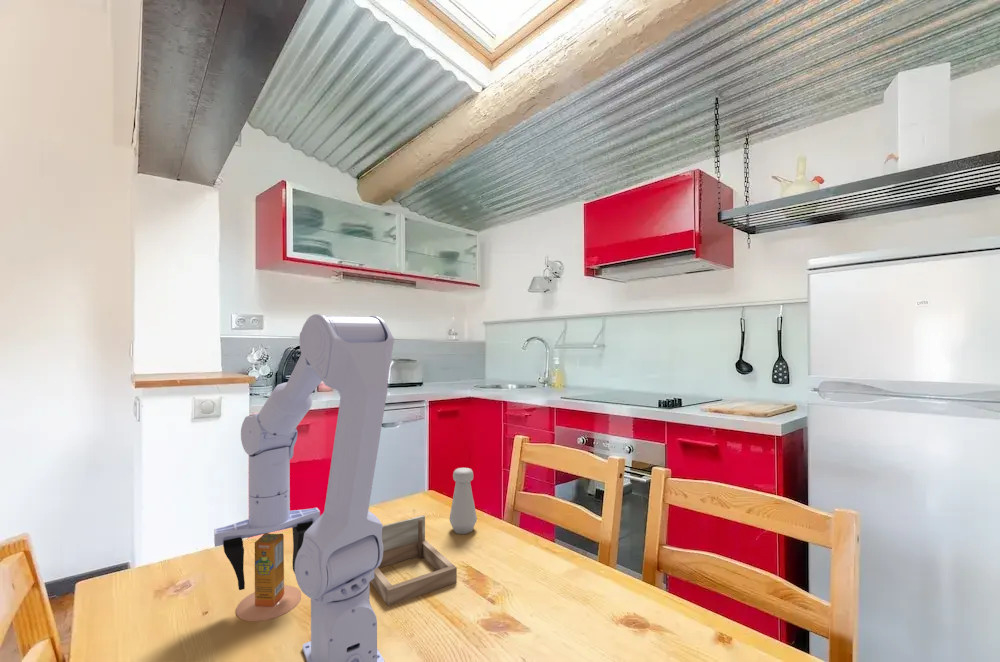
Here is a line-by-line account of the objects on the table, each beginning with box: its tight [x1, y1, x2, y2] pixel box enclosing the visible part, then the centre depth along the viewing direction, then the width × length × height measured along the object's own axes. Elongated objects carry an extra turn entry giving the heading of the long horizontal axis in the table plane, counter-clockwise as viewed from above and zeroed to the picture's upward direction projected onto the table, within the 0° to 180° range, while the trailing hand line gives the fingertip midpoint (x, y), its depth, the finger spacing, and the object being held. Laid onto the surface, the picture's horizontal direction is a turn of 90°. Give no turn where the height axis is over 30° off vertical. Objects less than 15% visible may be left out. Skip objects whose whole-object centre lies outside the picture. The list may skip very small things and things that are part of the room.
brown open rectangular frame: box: [370, 515, 458, 607], centre depth 79 cm, size 13×12×7 cm
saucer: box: [235, 584, 302, 622], centre depth 70 cm, size 9×9×1 cm
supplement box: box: [254, 533, 285, 606], centre depth 70 cm, size 3×3×10 cm
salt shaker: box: [449, 467, 478, 535], centre depth 97 cm, size 6×6×13 cm
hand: (269, 578), depth 70 cm, fingers open, 7 cm apart
